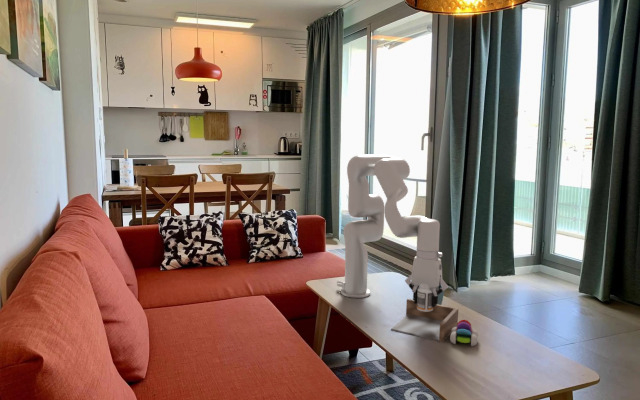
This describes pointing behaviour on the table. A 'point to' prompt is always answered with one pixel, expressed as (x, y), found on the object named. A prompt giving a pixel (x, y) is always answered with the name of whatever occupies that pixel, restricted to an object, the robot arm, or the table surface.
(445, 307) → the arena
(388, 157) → the robot arm
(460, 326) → the rainbow petal toy
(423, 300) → the pill bottle
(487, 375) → the table surface
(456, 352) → the table surface
